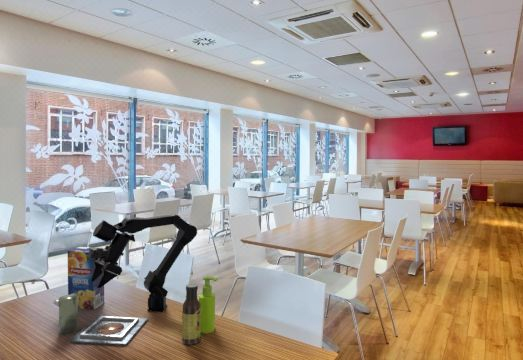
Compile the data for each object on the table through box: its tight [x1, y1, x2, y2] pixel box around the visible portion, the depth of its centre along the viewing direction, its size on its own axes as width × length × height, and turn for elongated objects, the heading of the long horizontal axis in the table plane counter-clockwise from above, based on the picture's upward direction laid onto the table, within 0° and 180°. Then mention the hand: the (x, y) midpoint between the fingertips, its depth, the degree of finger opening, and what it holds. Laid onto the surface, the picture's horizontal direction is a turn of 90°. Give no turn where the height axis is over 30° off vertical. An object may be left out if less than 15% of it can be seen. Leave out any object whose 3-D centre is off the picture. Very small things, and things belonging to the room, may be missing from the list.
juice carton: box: [67, 246, 105, 311], centre depth 159 cm, size 12×8×24 cm, turn 80°
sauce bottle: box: [181, 283, 201, 345], centre depth 131 cm, size 6×6×20 cm
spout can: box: [53, 294, 79, 336], centre depth 136 cm, size 8×6×13 cm
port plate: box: [68, 315, 149, 347], centre depth 137 cm, size 20×20×2 cm
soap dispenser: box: [198, 276, 219, 334], centre depth 139 cm, size 6×7×20 cm
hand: (95, 284), depth 142 cm, fingers open, 9 cm apart
